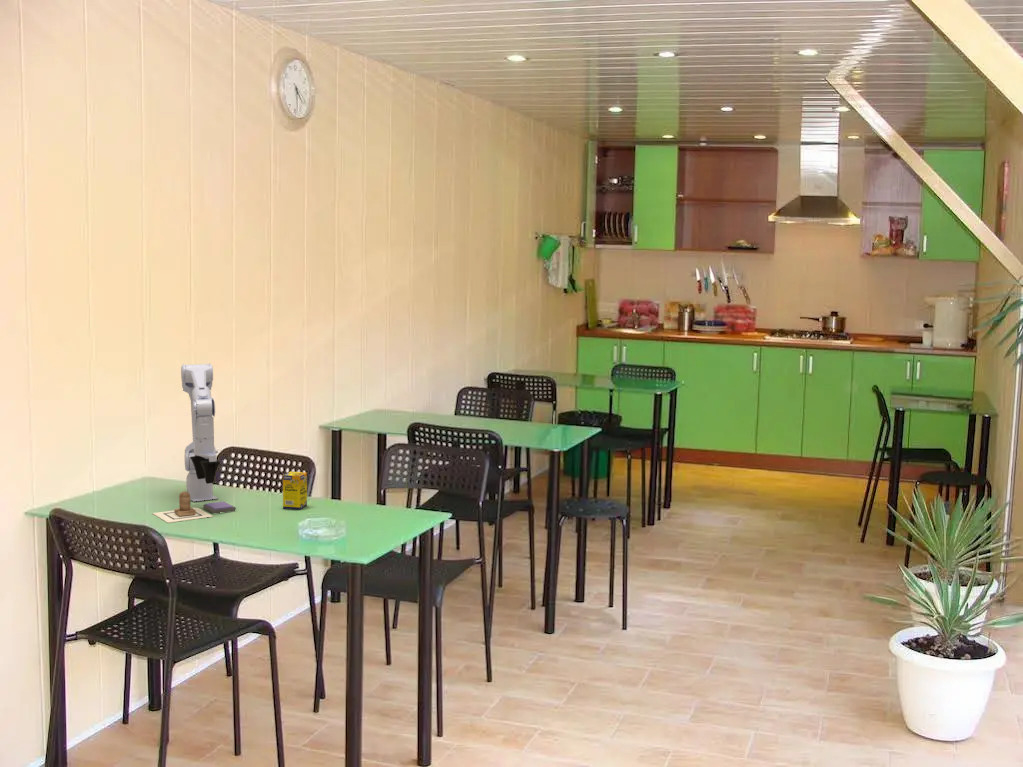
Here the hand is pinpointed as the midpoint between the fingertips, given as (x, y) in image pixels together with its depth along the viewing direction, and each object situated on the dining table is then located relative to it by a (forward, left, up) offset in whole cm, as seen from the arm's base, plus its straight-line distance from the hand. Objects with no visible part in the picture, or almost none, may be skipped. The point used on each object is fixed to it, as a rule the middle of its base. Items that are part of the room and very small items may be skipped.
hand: (205, 480), depth 354 cm
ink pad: (+2, +4, -9) cm, 10 cm away
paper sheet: (+3, -8, -9) cm, 13 cm away
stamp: (+3, -8, -9) cm, 12 cm away
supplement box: (+12, +25, -10) cm, 29 cm away
